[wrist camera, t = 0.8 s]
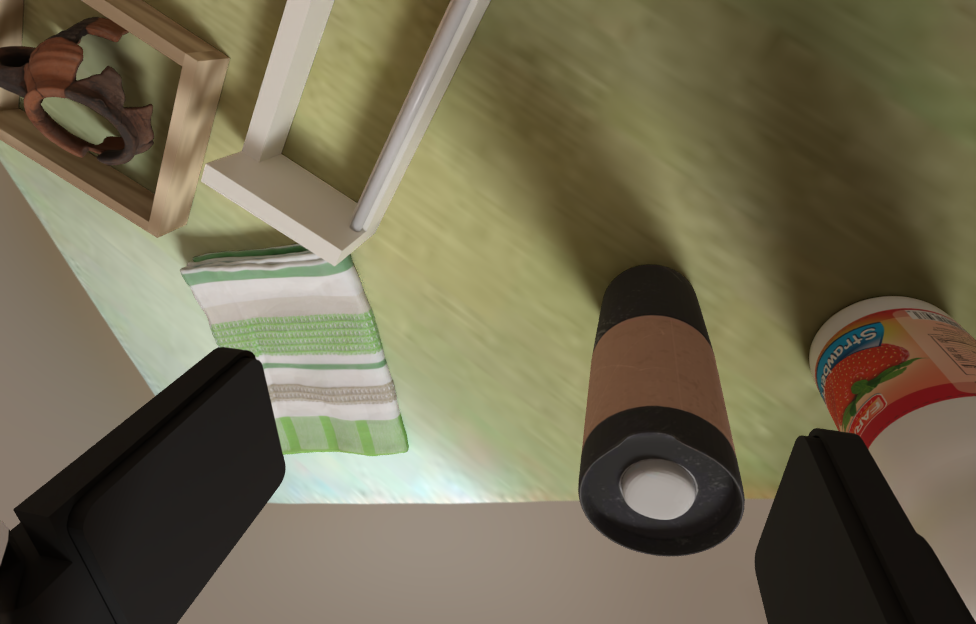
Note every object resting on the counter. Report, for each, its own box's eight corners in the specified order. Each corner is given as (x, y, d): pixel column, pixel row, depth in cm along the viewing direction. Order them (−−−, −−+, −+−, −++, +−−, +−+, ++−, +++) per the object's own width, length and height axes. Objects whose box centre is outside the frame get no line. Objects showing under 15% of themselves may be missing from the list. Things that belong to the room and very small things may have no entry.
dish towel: (353, 235, 46) (333, 250, 43) (417, 444, 56) (404, 468, 53) (192, 252, 51) (165, 266, 48) (278, 441, 61) (259, 463, 58)
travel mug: (656, 363, 44) (669, 580, 27) (579, 312, 44) (544, 502, 27) (723, 297, 40) (788, 503, 23) (640, 241, 40) (644, 409, 23)
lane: (385, -229, 31) (325, -289, 25) (547, -114, 31) (526, -145, 25) (259, 159, 44) (201, 181, 38) (374, 233, 45) (334, 266, 39)
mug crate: (15, -84, 39) (-36, -92, 36) (229, 58, 41) (197, 61, 38) (8, 111, 48) (-34, 118, 45) (186, 224, 49) (157, 237, 46)
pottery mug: (166, 21, 41) (119, 90, 37) (198, 120, 49) (162, 187, 45) (-7, -18, 39) (-77, 49, 35) (55, 91, 47) (4, 157, 43)
